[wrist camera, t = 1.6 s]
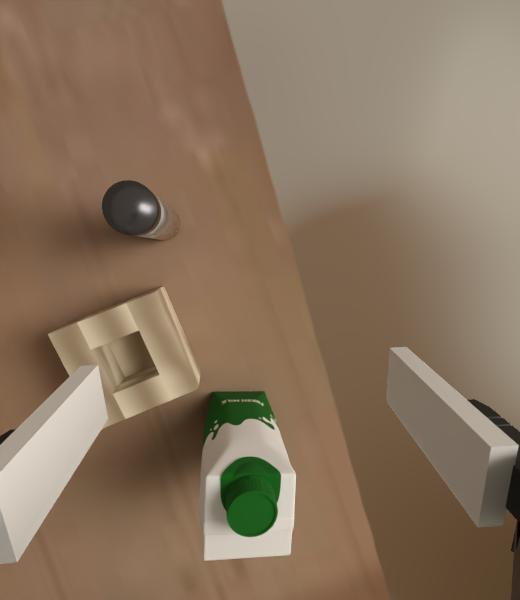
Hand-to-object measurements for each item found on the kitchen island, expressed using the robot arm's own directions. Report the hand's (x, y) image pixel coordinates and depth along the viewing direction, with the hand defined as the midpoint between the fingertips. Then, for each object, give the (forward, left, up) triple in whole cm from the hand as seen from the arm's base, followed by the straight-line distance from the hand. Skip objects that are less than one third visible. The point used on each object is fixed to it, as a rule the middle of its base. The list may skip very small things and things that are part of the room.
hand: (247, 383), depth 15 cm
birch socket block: (-13, -2, -29) cm, 32 cm away
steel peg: (-4, +11, -29) cm, 31 cm away
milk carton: (-5, -16, -29) cm, 33 cm away
